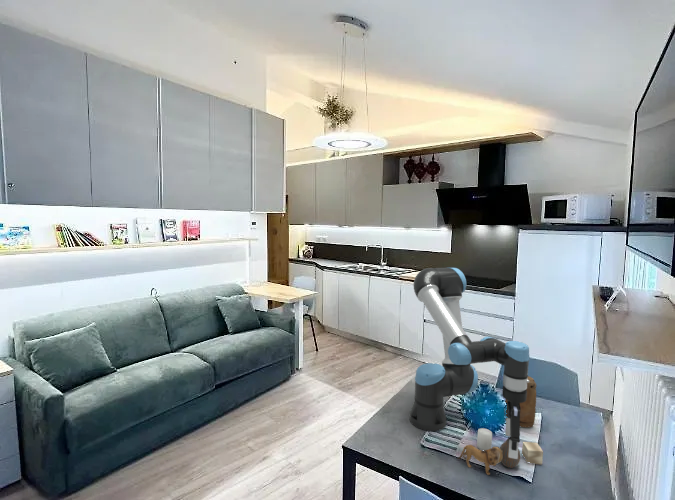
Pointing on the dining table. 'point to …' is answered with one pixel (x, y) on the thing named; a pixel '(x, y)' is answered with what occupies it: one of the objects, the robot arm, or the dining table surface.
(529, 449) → the birch block
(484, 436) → the white cylinder
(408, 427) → the dining table surface
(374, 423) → the dining table surface
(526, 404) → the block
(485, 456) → the lion figurine
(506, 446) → the vase
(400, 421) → the dining table surface
